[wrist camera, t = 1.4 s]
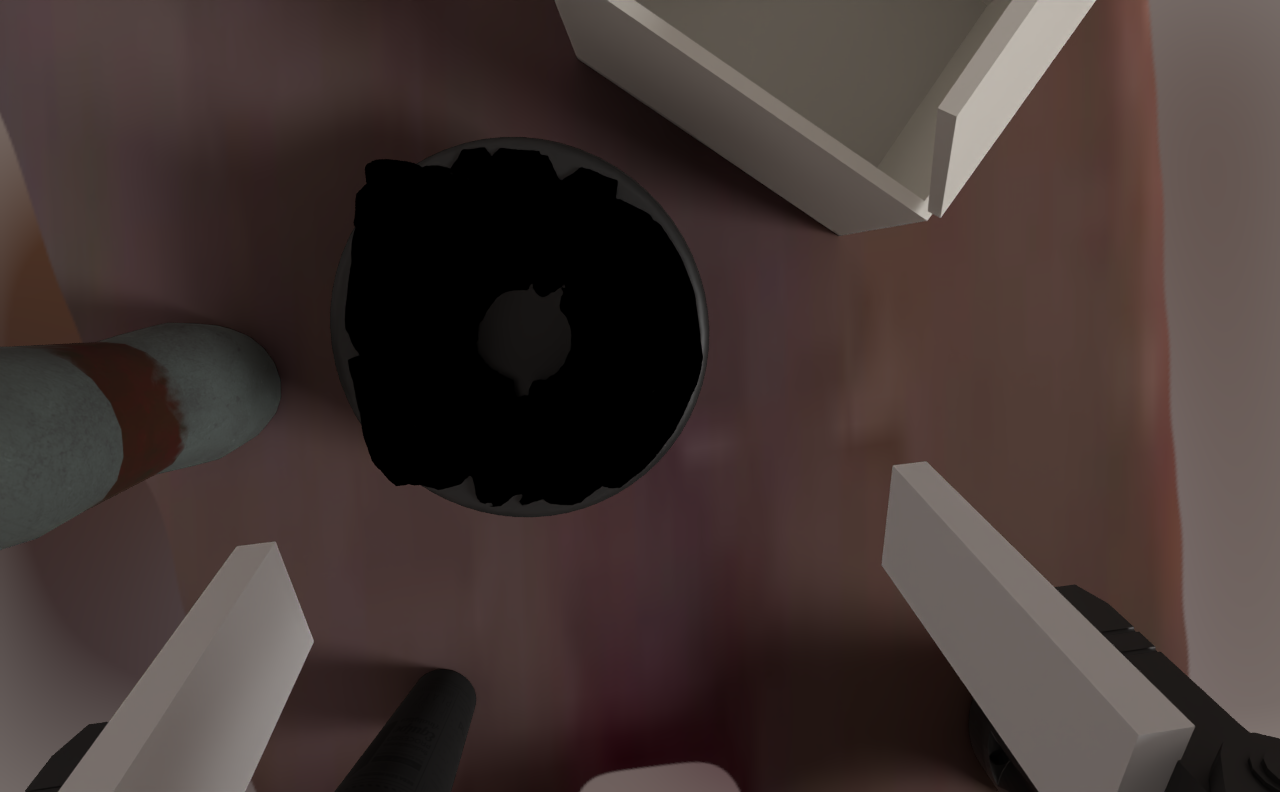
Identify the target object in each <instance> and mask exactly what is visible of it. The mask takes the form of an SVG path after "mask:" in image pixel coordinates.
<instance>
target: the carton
mask: <svg viewBox="0 0 1280 792" xmlns="http://www.w3.org/2000/svg"><path fill="white" fill-rule="evenodd" d="M554 1H555V4H556V6H557V9H558V11H559V14H560V16H561V19H562V21H563V24H564V26H565V29H566V31H567V34H568V36H569V39H570V41H571V44H572V46H573V49H574V52H575V54H576V57H577V59H579V60H580V61H582V62H583V63H585V64H586V65H588V66H589V67H591V68H592V69H593V70H595V71H596V72H598V73H599V74H601V75H602V76H604V77H605V78H607V79H608V80H610V81H611V82H613V83H614V84H616V85H617V86H619V87H620V88H622V89H623V90H625V91H626V92H627V93H629V94H630V95H632V96H633V97H635V98H636V99H638V100H639V101H641V102H642V103H644V104H645V105H647V106H648V107H650V108H651V109H653V110H654V111H656V112H657V113H658V114H660V115H661V116H663V117H664V118H666V119H667V120H669V121H670V122H672V123H673V124H675V125H676V126H678V127H679V128H681V129H682V130H684V131H685V132H687V133H688V134H689V135H691V136H692V137H694V138H695V139H697V140H698V141H700V142H701V143H703V144H704V145H706V146H707V147H709V148H710V149H712V150H713V151H715V152H716V153H718V154H719V155H720V156H722V157H723V158H725V159H726V160H728V161H729V162H731V163H732V164H734V165H735V166H737V167H738V168H740V169H741V170H743V171H744V172H746V173H747V174H749V175H750V176H752V177H753V178H754V179H756V180H757V181H759V182H760V183H762V184H763V185H765V186H766V187H768V188H769V189H771V190H772V191H774V192H775V193H777V194H778V195H780V196H781V197H783V198H784V199H785V200H787V201H788V202H790V203H791V204H793V205H794V206H796V207H797V208H799V209H800V210H802V211H803V212H805V213H806V214H808V215H809V216H811V217H812V218H814V219H815V220H816V221H818V222H819V223H821V224H822V225H824V226H825V227H827V228H828V229H830V230H831V231H833V232H834V233H836V234H837V235H839V236H841V235H847V234H853V233H859V232H865V231H870V230H876V229H882V228H888V227H894V226H900V225H905V224H911V223H917V222H923V221H927V220H928V219H929V218H930V216H931V215H932V213H930V212H928V203H929V193H930V183H931V172H932V162H933V152H934V142H935V131H936V121H937V111H938V107H939V105H940V104H941V103H942V101H943V100H944V98H945V97H946V95H947V94H948V92H949V91H950V90H951V88H952V87H953V85H954V84H955V82H956V81H957V79H958V78H959V76H960V75H961V74H962V72H963V71H964V69H965V68H966V66H967V65H968V63H969V62H970V60H971V59H972V58H973V56H974V55H975V53H976V52H977V50H978V49H979V47H980V46H981V44H982V43H983V42H984V40H985V39H986V37H987V36H988V34H989V33H990V31H991V30H992V28H993V27H994V26H995V24H996V23H997V21H998V20H999V18H1000V17H1001V15H1002V14H1003V13H1004V11H1005V10H1006V8H1007V7H1008V5H1009V4H1010V2H1011V1H1012V0H554Z"/></svg>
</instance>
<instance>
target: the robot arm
mask: <svg viewBox="0 0 1280 792" xmlns="http://www.w3.org/2000/svg"><path fill="white" fill-rule="evenodd" d="M882 566H883V568H884V569H885V571H886V572H887V573H888V575H889V576H890V578H891V579H892V581H893V582H894V584H895V585H896V586H897V588H898V589H899V591H900V592H901V594H902V595H903V597H904V598H905V599H906V601H907V602H908V604H909V605H910V607H911V608H912V610H913V611H914V612H915V614H916V615H917V617H918V618H919V620H920V621H921V623H922V624H923V625H924V627H925V628H926V630H927V631H928V633H929V634H930V636H931V637H932V638H933V640H934V641H935V643H936V644H937V646H938V647H939V649H940V650H941V651H942V653H943V654H944V656H945V657H946V659H947V660H948V662H949V663H950V664H951V666H952V667H953V669H954V670H955V672H956V673H957V675H958V676H959V677H960V679H961V680H962V682H963V683H964V685H965V686H966V688H967V689H968V690H969V692H970V693H971V695H972V696H973V700H972V704H971V708H970V714H969V734H970V740H971V744H972V747H973V750H974V752H975V755H976V757H977V759H978V761H979V762H980V764H981V765H982V767H983V769H984V770H985V772H986V773H987V775H988V776H989V778H990V779H991V781H992V782H993V784H994V785H995V787H996V788H997V789H998V791H999V792H1280V739H1279V738H1275V737H1271V736H1266V735H1262V734H1258V733H1250V732H1248V731H1247V730H1246V729H1245V728H1244V727H1242V726H1241V725H1240V724H1239V723H1238V722H1237V721H1235V719H1233V718H1232V717H1231V716H1230V715H1229V714H1228V713H1227V712H1226V711H1225V710H1224V709H1222V708H1221V707H1220V706H1219V705H1218V704H1217V703H1216V702H1215V701H1214V700H1213V699H1212V698H1210V697H1209V696H1208V695H1207V694H1206V693H1205V692H1204V691H1203V690H1202V689H1201V688H1200V687H1199V686H1197V685H1196V684H1195V683H1194V682H1193V681H1192V680H1191V679H1190V678H1189V677H1188V676H1187V675H1185V674H1184V673H1183V672H1182V671H1181V670H1180V669H1179V668H1178V667H1177V666H1176V665H1175V664H1173V663H1172V662H1171V661H1170V660H1169V659H1168V658H1167V657H1166V656H1165V655H1164V654H1163V653H1161V652H1157V651H1156V649H1155V646H1154V645H1153V644H1152V643H1151V642H1149V641H1148V640H1147V639H1146V638H1145V637H1144V636H1143V635H1142V634H1141V633H1140V632H1135V631H1134V627H1133V626H1132V625H1131V624H1130V623H1129V622H1128V621H1127V620H1126V619H1124V618H1123V617H1122V616H1121V615H1120V614H1119V613H1118V612H1117V611H1116V610H1115V609H1114V608H1112V607H1111V606H1110V605H1109V604H1108V603H1106V602H1105V601H1103V600H1101V599H1099V598H1098V597H1096V596H1094V595H1092V594H1091V593H1089V592H1087V591H1085V590H1084V589H1082V588H1080V587H1078V586H1077V585H1069V586H1061V587H1053V586H1052V585H1051V584H1050V583H1049V582H1048V581H1047V580H1046V579H1045V578H1044V577H1043V576H1042V575H1041V574H1040V573H1039V572H1038V571H1037V570H1036V569H1035V568H1034V567H1033V566H1032V565H1031V564H1030V563H1029V562H1028V561H1027V560H1026V559H1025V558H1024V557H1023V556H1022V555H1021V554H1020V553H1019V552H1018V551H1017V550H1016V549H1015V548H1014V547H1013V546H1012V545H1011V544H1010V543H1009V542H1008V541H1007V540H1006V539H1005V538H1004V537H1003V536H1002V535H1001V534H1000V533H999V532H997V531H996V530H995V529H994V528H993V527H992V526H991V525H990V524H989V523H988V522H987V521H986V520H985V519H984V518H983V517H982V516H981V515H980V514H979V513H978V512H977V511H976V510H975V509H974V508H973V507H972V506H971V505H970V504H969V503H968V502H967V501H966V500H965V499H964V498H963V497H962V496H961V495H960V494H959V493H958V492H957V491H956V490H955V489H954V488H953V487H952V486H951V485H950V484H949V483H948V482H947V481H946V480H945V479H944V478H943V477H942V476H941V475H940V474H939V473H938V472H937V471H936V470H935V469H934V468H932V467H931V466H930V465H929V464H928V463H927V462H926V461H925V462H917V463H909V464H901V465H893V468H892V477H891V486H890V495H889V504H888V513H887V522H886V531H885V540H884V548H883V557H882ZM313 642H314V640H313V638H312V635H311V633H310V630H309V627H308V625H307V622H306V620H305V617H304V614H303V612H302V609H301V607H300V604H299V601H298V599H297V596H296V594H295V591H294V588H293V586H292V583H291V581H290V578H289V575H288V573H287V570H286V568H285V565H284V562H283V560H282V557H281V555H280V552H279V549H278V547H277V544H276V542H268V543H260V544H252V545H243V546H237V547H236V548H235V549H234V551H233V552H232V553H231V555H230V556H229V558H228V559H227V560H226V562H225V563H224V564H223V566H222V567H221V569H220V570H219V571H218V573H217V574H216V575H215V577H214V578H213V580H212V581H211V582H210V584H209V585H208V586H207V588H206V589H205V591H204V592H203V593H202V595H201V596H200V597H199V599H198V600H197V602H196V603H195V604H194V606H193V607H192V608H191V610H190V611H189V613H188V614H187V615H186V617H185V618H184V619H183V621H182V622H181V624H180V625H179V626H178V628H177V629H176V630H175V632H174V633H173V635H172V636H171V637H170V639H169V640H168V641H167V643H166V644H165V646H164V647H163V648H162V650H161V651H160V652H159V654H158V655H157V657H156V658H155V659H154V661H153V662H152V663H151V665H150V666H149V668H148V669H147V670H146V672H145V673H144V674H143V676H142V677H141V679H140V680H139V681H138V683H137V684H136V685H135V687H134V688H133V689H132V691H131V692H130V694H129V695H128V696H127V698H126V699H125V700H124V702H123V703H122V705H121V706H120V707H119V709H118V710H117V712H116V713H115V714H114V716H113V717H112V718H111V720H110V721H109V722H103V723H97V724H89V725H88V726H86V727H85V728H84V729H83V730H82V731H81V732H80V733H78V734H77V735H76V736H75V737H74V738H73V739H71V740H70V741H69V742H68V743H67V744H66V745H64V746H63V747H62V748H61V749H60V750H59V751H57V752H56V753H55V754H54V755H53V756H52V757H51V758H50V759H49V761H48V762H47V763H46V765H45V766H44V767H43V768H42V770H41V771H40V772H39V774H38V775H37V776H36V777H35V779H34V780H33V781H32V783H31V784H30V785H29V787H28V788H27V789H26V790H25V792H245V791H246V789H247V787H248V785H249V782H250V780H251V778H252V776H253V774H254V771H255V769H256V767H257V765H258V763H259V760H260V758H261V756H262V754H263V752H264V750H265V747H266V745H267V743H268V741H269V739H270V736H271V734H272V732H273V730H274V728H275V725H276V723H277V721H278V719H279V717H280V715H281V712H282V710H283V708H284V706H285V704H286V701H287V699H288V697H289V695H290V693H291V690H292V688H293V686H294V684H295V682H296V679H297V677H298V675H299V673H300V671H301V669H302V666H303V664H304V662H305V660H306V658H307V655H308V653H309V651H310V649H311V647H312V644H313Z"/></svg>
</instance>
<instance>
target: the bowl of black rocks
mask: <svg viewBox="0 0 1280 792" xmlns="http://www.w3.org/2000/svg"><path fill="white" fill-rule="evenodd" d="M365 175H366V182H367V184H366V185H365V186H364V187H363V188H362V189H361V190H359V192H358V193H357V194H356V201H355V202H356V204H355V206H356V207H355V209H356V210H355V219H354V226H355V228H354V230H353V232H352V233H351V235H350V237H349V239H348V241H347V244H346V246H345V248H344V251H343V253H342V256H341V259H340V262H339V265H338V268H337V272H336V276H335V281H334V286H333V290H332V300H331V312H330V329H331V340H332V348H333V354H334V359H335V364H336V368H337V371H338V375H339V378H340V382H341V384H342V387H343V389H344V392H345V394H346V397H347V399H348V401H349V403H350V405H351V407H352V409H353V411H354V413H355V415H356V417H357V419H358V420H359V422H360V423H361V425H362V432H363V436H364V439H365V442H366V445H367V447H368V451H369V454H370V456H371V459H372V461H373V463H374V464H375V465H376V467H377V468H378V469H380V470H381V471H382V472H383V474H384V475H385V476H386V477H387V478H388V480H389V481H391V482H392V483H393V484H395V486H401V485H407V484H410V485H421V486H423V487H425V488H426V489H428V490H429V491H431V492H433V493H435V494H437V495H439V496H441V497H443V498H445V499H447V500H449V501H451V502H454V503H456V504H459V505H461V506H464V507H467V508H471V509H474V510H477V511H481V512H486V513H491V514H496V515H503V516H512V517H540V516H552V515H557V514H563V513H568V512H572V511H576V510H579V509H583V508H586V507H588V506H591V505H594V504H596V503H599V502H601V501H603V500H605V499H607V498H609V497H611V496H613V495H615V494H617V493H619V492H620V491H622V490H624V489H625V488H627V487H628V486H630V485H632V484H633V483H634V482H635V481H637V480H638V479H639V478H641V477H642V476H643V475H645V474H646V473H647V472H648V471H649V470H650V469H651V468H652V467H653V466H654V465H655V464H656V463H658V462H659V460H660V459H661V458H662V457H663V456H664V455H665V454H666V452H667V451H668V450H669V449H670V448H671V446H672V445H673V443H674V442H675V441H676V439H677V438H678V436H679V435H680V434H681V432H682V430H683V428H684V427H685V425H686V423H687V421H688V420H689V418H690V416H691V413H692V411H693V409H694V407H695V404H696V402H697V399H698V396H699V393H700V390H701V387H702V384H703V379H704V375H705V371H706V366H707V358H708V350H709V321H708V310H707V304H706V298H705V292H704V289H703V285H702V281H701V278H700V274H699V271H698V269H697V266H696V264H695V261H694V258H693V256H692V254H691V252H690V250H689V248H688V246H687V244H686V242H685V240H684V238H683V236H682V235H681V233H680V232H679V230H678V228H677V227H676V225H675V224H674V222H673V221H672V219H671V218H670V217H669V215H668V214H667V213H666V212H665V210H664V209H663V208H662V207H661V205H660V204H659V203H658V202H657V201H656V200H655V199H654V198H653V197H652V196H651V195H650V194H649V193H648V192H647V191H646V190H645V189H644V188H643V187H642V186H640V185H639V184H638V183H637V182H636V181H635V180H633V179H632V178H631V177H629V176H628V175H627V174H625V173H624V172H622V171H621V170H619V169H618V168H617V167H615V166H613V165H611V164H610V163H608V162H606V161H604V160H603V159H601V158H599V157H597V156H595V155H592V154H590V153H588V152H585V151H583V150H581V149H578V148H575V147H572V146H568V145H565V144H562V143H558V142H553V141H548V140H543V139H535V138H526V137H500V138H490V139H482V140H478V141H473V142H468V143H464V144H461V145H458V146H455V147H452V148H449V149H446V150H443V151H441V152H439V153H437V154H434V155H432V156H430V157H428V158H426V159H424V160H423V161H421V162H419V163H417V164H415V163H411V162H407V161H399V160H389V159H380V160H374V161H372V162H371V163H368V164H367V165H366V167H365Z"/></svg>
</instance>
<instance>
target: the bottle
mask: <svg viewBox="0 0 1280 792" xmlns="http://www.w3.org/2000/svg"><path fill="white" fill-rule="evenodd" d="M280 399H281V380H280V377H279V374H278V372H277V369H276V366H275V363H274V362H273V360H272V359H271V358H270V356H269V355H268V353H267V352H266V351H265V349H264V348H263V347H262V346H260V345H259V344H258V343H257V342H255V341H254V340H253V339H252V338H250V337H249V336H247V335H244V334H242V333H240V332H237V331H235V330H232V329H229V328H225V327H221V326H217V325H206V324H192V323H164V324H160V325H156V326H152V327H147V328H143V329H140V330H136V331H132V332H129V333H125V334H121V335H118V336H114V337H111V338H108V339H105V340H102V341H99V342H91V343H72V344H53V345H34V346H15V347H0V550H2V549H5V548H8V547H11V546H15V545H18V544H20V543H24V542H27V541H30V540H34V539H37V538H39V537H40V536H42V535H44V534H46V533H47V532H49V531H51V530H53V529H54V528H56V527H58V526H60V525H61V524H63V523H65V522H67V521H68V520H70V519H72V518H73V517H75V516H77V515H79V514H80V513H82V512H84V511H86V510H88V509H90V508H92V507H94V506H96V505H98V504H100V503H101V502H103V501H105V500H107V499H109V498H111V497H113V496H115V495H117V494H119V493H121V492H123V491H125V490H127V489H129V488H130V487H132V486H134V485H136V484H138V483H140V482H142V481H144V480H146V479H148V478H150V477H152V476H154V475H156V474H160V473H164V472H169V471H173V470H178V469H182V468H186V467H191V466H195V465H198V464H202V463H206V462H210V461H213V460H217V459H220V458H222V457H224V456H225V455H227V454H228V453H230V452H232V451H233V450H235V449H237V448H238V447H240V446H241V445H243V444H244V443H246V442H248V441H249V440H251V439H252V438H254V437H255V436H257V435H258V434H259V433H260V432H261V431H262V430H263V429H264V427H265V426H266V425H267V424H268V423H269V421H270V420H271V419H272V417H273V416H274V415H275V414H276V411H277V408H278V405H279V402H280Z"/></svg>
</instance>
